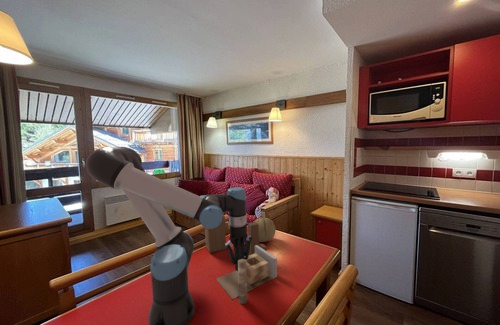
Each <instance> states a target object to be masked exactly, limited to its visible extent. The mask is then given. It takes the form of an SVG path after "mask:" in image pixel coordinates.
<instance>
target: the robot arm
mask: <svg viewBox="0 0 500 325" xmlns="http://www.w3.org/2000/svg"><path fill="white" fill-rule="evenodd" d="M142 164H143V162H142V157H141V155H140V154H139V152H137V151H136V150H134V149H133V148H131V147H125V146H116V147H109V146H108V147H106V146H105V147H100V148H97V149H96V150H93V151H92V152H91V153H90V154H89V155H88V156H87V158H86V163H85V168H86V172H87V174H88V175H89V176H90V177H91V178H92V179H93V180H95V181H97V183H98V182H99V184H103V185H104V186H106V187H109V188H111V189H114V190H120V189H121V190H122V191H123V193H124V194H125V196H126V197H127V199H128V200H129V202H130V204H131V205H132V206H133V208H134V209H135V211H136V213H137V214H138V215H139V216H140V218H141V220H142V221H143V222H144V224H145V226H146V227H147V228H148V230H149V231H150V233H151V234H152V236H153V238H154V239H155V241H154V242H155V243H154V247H155V249H156V250H155V252H154V253H153V254H152V256H151V259H150V265H149V267H150V270H149V271H150V275H151V277H150V278H151V291H152V303H151V306H150V310H149V314H148V325H188V324H189V323H190V322H191V321H192V319H193V317H194V316H195V302H194V299H193V297H192V295H191V293H190V290H189V274H188V272H189V270H188V269H189V268H190V263H191V260H192V256H193V253H194V249H195V248H194V245H195V244H194V239H193V238H192V236H191V234H189V233H188V232H185V231H184V230H183V229H182V227H181V226H176V225H175V223H174V222H173V220H172V219H171V217H170V216H169V214H168V213H167V211H166V209H165V208H168V209H170V210H172V211H175V212H177V213H180V214H183V215H185V216H188V217H190V218H192V219H194V220H197V221H199V222H200V225H201V226H202V227H203V228H204V229H205V228H207V229H214V228H216V227H218V226H219V225H220V224H221V222H222V218H223V215H224V213H228V224H229V227H228V228H229V229H228V230H229V238H228V241H226V243H225V244H224V245H225V246H226V249H227V254H228V257H229V260H230V262H231V264H233V266H234V268H235V271H237V276H238V260H240V259H245V260H247V259H248V256H249V250H250V243H251V241H252V237H251V236H249V235H248V222H247V220H248V219H247V217H248V216H247V195H246V194H247V193H246V189H245V188H243V187H239V186H237V187H230V188H228V189H227V193H215V194H206V195H205V194H204V195H200V196H199V195H197V194H195V193H193V192H191V191H188V190H186V189H184V188H181V187H179V186H177V185H174V184H172V183H171V182H168V181H166V180H163V179H161V178H159V177H157V176H154V175H152V174H150V173H148V172H146V170H145V169H144V167H143V165H142ZM164 207H165V208H164ZM232 246H233V248H232Z"/></svg>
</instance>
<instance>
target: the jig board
mask: <svg viewBox="0 0 500 325" xmlns="http://www.w3.org/2000/svg"><path fill="white" fill-rule="evenodd" d="M278 277H279V275H278V274H277V277H275V278H274V277H273V276H271V275H270V274H269V276H268V277H266V278H264V279H262V280H260V281H258V282H256V283H254V284H252V285H250V284H249V283H248V282H247V293H249V292H251V291H253V290H254V289H256V288H258V287H260V286H263V285H264V284H267V283H268V282H270V281H272V280H274V279H277V278H278ZM215 280H216V281H217V282H218V284H219V285H220V287H222V289H223V290H224V291H225V292H226V294H227V295H228V296H229V297H230V299H232V300H236V299H237V298H239V285H238V276H237V271H236V270H234V271H232V272H228V273H226V274H225V275H222V276H219V277H217V278H215Z"/></svg>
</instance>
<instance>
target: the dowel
mask: <svg viewBox="0 0 500 325" xmlns="http://www.w3.org/2000/svg"><path fill="white" fill-rule="evenodd" d="M239 259H240V258H239ZM238 285H239V297H238V303H239V304H240V305H246V304H247V303H248V292H247V270H246V260H245V259H240V260H238Z"/></svg>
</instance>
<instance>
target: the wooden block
mask: <svg viewBox="0 0 500 325" xmlns="http://www.w3.org/2000/svg"><path fill="white" fill-rule="evenodd" d="M247 234H248V235H249V236H251V237H252V241H251V243H250V250H249V255H252V254H255V245H258V246H259V247H261V248H262V249H264V250H265V251H267V252H268V249H267V248H268V247H267V246H266V245H265V244H264V243H260V241H259V225H258V224H257V223H256V222H255V221H252V222H247Z"/></svg>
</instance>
